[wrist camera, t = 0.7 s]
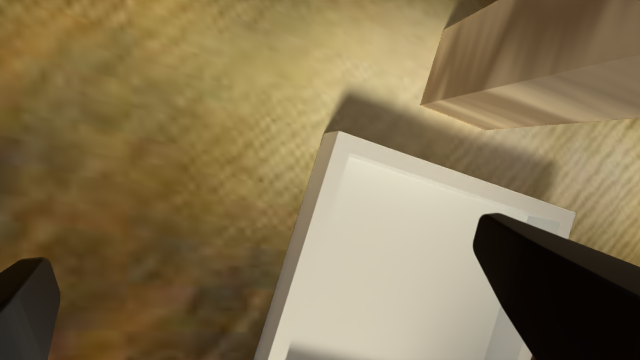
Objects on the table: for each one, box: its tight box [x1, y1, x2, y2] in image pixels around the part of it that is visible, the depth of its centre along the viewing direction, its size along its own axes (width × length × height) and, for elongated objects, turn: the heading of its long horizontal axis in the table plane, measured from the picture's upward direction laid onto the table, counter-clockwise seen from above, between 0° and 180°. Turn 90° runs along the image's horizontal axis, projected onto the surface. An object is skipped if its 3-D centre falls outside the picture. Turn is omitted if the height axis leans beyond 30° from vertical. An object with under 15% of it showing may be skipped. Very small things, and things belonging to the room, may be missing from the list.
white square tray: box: [254, 131, 576, 360], centre depth 22 cm, size 14×14×3 cm
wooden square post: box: [420, 0, 640, 130], centre depth 16 cm, size 4×4×16 cm
